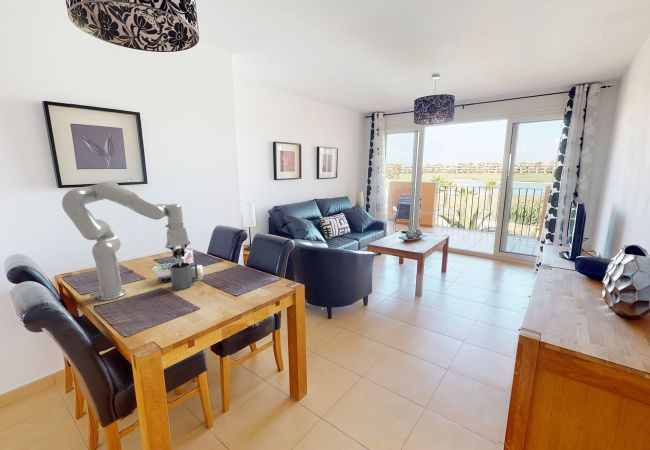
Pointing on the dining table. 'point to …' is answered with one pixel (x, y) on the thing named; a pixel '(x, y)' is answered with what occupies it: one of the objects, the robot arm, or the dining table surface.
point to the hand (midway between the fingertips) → (179, 256)
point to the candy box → (186, 257)
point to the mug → (199, 271)
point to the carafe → (182, 276)
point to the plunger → (179, 256)
